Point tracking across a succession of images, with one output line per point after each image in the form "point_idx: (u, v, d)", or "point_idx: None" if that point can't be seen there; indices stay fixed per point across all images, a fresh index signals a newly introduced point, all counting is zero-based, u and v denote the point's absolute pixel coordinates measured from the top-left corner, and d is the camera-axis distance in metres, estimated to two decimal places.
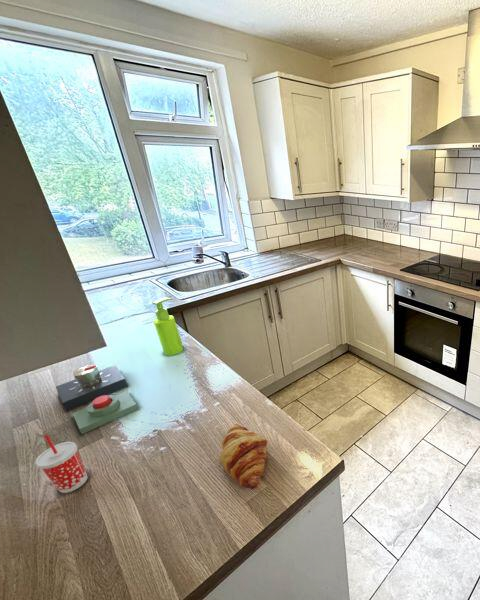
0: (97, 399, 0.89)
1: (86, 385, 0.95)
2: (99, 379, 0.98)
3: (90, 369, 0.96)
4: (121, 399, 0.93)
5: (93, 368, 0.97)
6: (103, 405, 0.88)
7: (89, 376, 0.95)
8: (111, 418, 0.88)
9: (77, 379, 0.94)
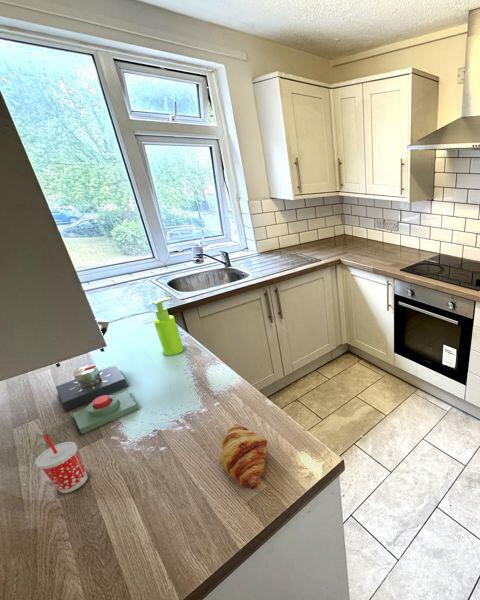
0: (97, 399, 0.89)
1: (86, 385, 0.95)
2: (99, 379, 0.98)
3: (90, 369, 0.96)
4: (121, 399, 0.93)
5: (93, 368, 0.97)
6: (103, 405, 0.88)
7: (89, 376, 0.95)
8: (111, 418, 0.88)
9: (77, 379, 0.94)
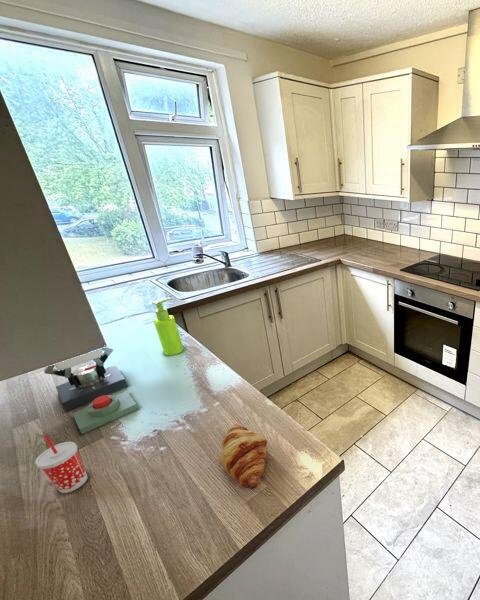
0: (97, 399, 0.89)
1: (86, 385, 0.95)
2: (99, 379, 0.98)
3: (90, 369, 0.96)
4: (121, 399, 0.93)
5: (93, 368, 0.97)
6: (103, 405, 0.88)
7: (89, 376, 0.95)
8: (111, 418, 0.88)
9: (77, 379, 0.94)
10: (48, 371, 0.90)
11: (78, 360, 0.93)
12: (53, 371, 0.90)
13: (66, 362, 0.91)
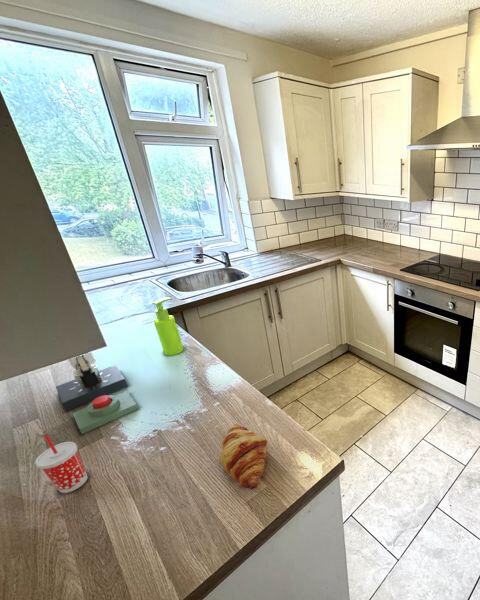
0: (97, 399, 0.89)
1: None
2: (83, 385, 0.95)
3: None
4: (121, 399, 0.93)
5: None
6: (103, 405, 0.88)
7: None
8: (111, 418, 0.88)
9: None
10: None
11: None
12: None
13: None
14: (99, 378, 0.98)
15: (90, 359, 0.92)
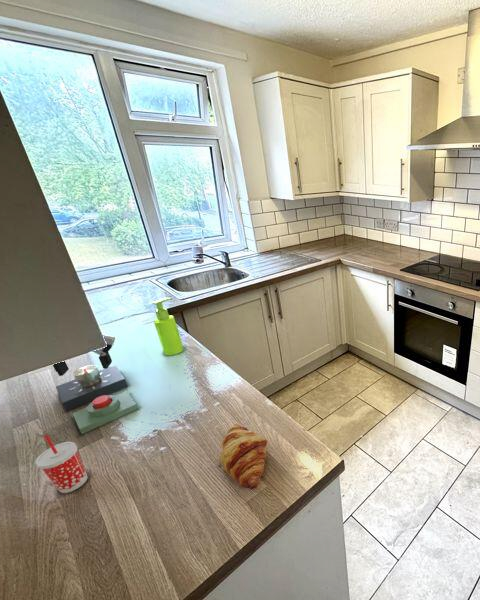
0: (97, 399, 0.89)
1: None
2: (83, 385, 0.95)
3: (80, 372, 0.95)
4: (121, 399, 0.93)
5: (81, 373, 0.94)
6: (103, 405, 0.88)
7: None
8: (111, 418, 0.88)
9: None
10: None
11: None
12: None
13: None
14: (99, 378, 0.98)
15: None
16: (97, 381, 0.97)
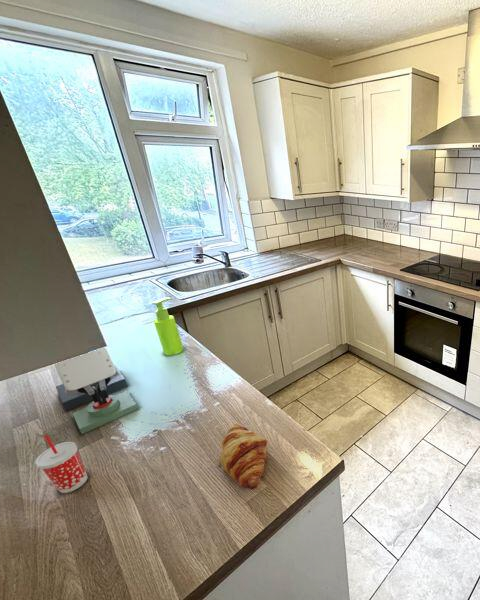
0: None
1: None
2: None
3: None
4: (121, 399, 0.93)
5: None
6: None
7: None
8: (111, 418, 0.88)
9: None
10: (70, 392, 0.83)
11: (90, 379, 0.84)
12: (75, 390, 0.83)
13: (77, 382, 0.82)
14: None
15: None
16: None
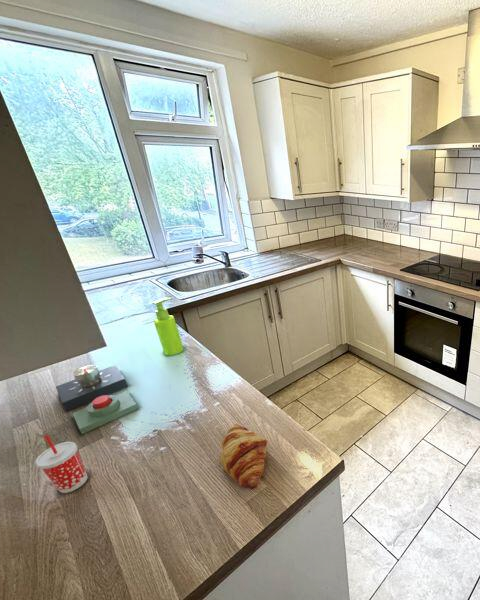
0: (97, 399, 0.89)
1: None
2: (83, 385, 0.95)
3: (80, 372, 0.95)
4: (121, 399, 0.93)
5: (81, 373, 0.94)
6: (103, 405, 0.88)
7: None
8: (111, 418, 0.88)
9: None
10: None
11: None
12: None
13: None
14: (99, 378, 0.98)
15: None
16: (97, 381, 0.97)
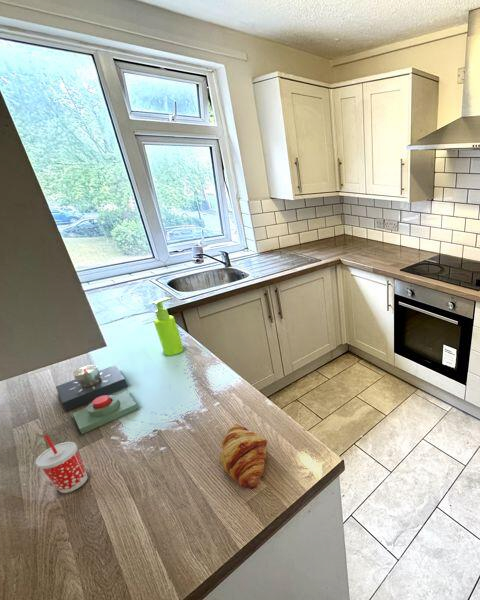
0: (97, 399, 0.89)
1: None
2: (83, 385, 0.95)
3: (80, 372, 0.95)
4: (121, 399, 0.93)
5: (81, 373, 0.94)
6: (103, 405, 0.88)
7: None
8: (111, 418, 0.88)
9: None
10: None
11: None
12: None
13: None
14: (99, 378, 0.98)
15: None
16: (97, 381, 0.97)
